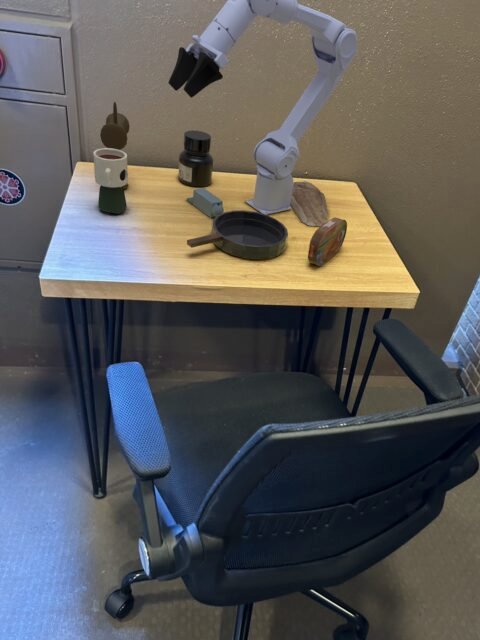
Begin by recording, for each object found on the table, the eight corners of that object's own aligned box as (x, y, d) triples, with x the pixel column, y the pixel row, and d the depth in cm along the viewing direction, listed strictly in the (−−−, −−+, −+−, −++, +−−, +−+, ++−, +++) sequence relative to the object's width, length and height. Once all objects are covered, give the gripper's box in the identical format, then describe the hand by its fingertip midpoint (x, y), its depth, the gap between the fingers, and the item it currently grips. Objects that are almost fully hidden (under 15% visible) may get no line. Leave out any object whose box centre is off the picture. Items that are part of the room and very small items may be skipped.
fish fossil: (339, 227, 135) (340, 223, 134) (300, 228, 133) (301, 224, 132) (313, 183, 153) (314, 180, 152) (279, 184, 151) (279, 180, 150)
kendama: (103, 193, 128) (98, 106, 115) (107, 177, 135) (103, 93, 122) (128, 196, 129) (126, 110, 116) (131, 180, 136) (130, 97, 123)
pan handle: (217, 236, 116) (218, 232, 115) (222, 240, 115) (222, 236, 114) (186, 244, 111) (186, 239, 111) (191, 248, 110) (191, 243, 110)
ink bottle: (176, 172, 145) (178, 127, 137) (208, 174, 147) (211, 129, 140) (180, 187, 138) (182, 140, 130) (213, 189, 140) (217, 143, 133)
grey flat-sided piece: (186, 200, 132) (187, 186, 130) (199, 198, 135) (200, 184, 132) (213, 221, 126) (214, 206, 124) (226, 218, 129) (227, 203, 126)
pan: (254, 218, 131) (256, 205, 129) (300, 251, 122) (303, 237, 120) (196, 231, 121) (197, 217, 119) (241, 267, 112) (243, 253, 110)
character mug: (125, 222, 119) (124, 165, 111) (92, 218, 118) (88, 161, 110) (131, 201, 127) (130, 147, 119) (100, 198, 126) (97, 143, 118)
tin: (314, 271, 116) (322, 237, 111) (302, 266, 117) (309, 231, 112) (343, 248, 126) (352, 216, 121) (331, 243, 127) (340, 211, 122)
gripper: (193, 12, 104) (151, 68, 106) (227, 18, 95) (180, 80, 96) (216, 42, 110) (176, 95, 111) (250, 50, 100) (205, 108, 101)
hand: (179, 90), depth 104 cm, fingers open, 7 cm apart
